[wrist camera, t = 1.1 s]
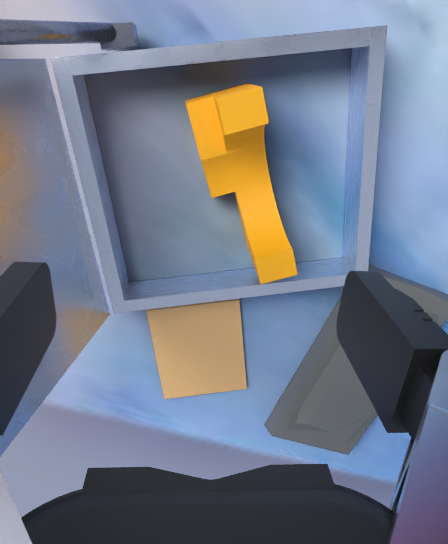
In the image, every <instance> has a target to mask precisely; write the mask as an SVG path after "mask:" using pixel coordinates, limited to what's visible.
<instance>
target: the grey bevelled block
mask: <svg viewBox="0 0 448 544" xmlns="http://www.w3.org/2000/svg"><path fill="white" fill-rule="evenodd" d="M368 271H378V272H380V273H381V274H382V275H383V276H384V278H385V279H386V280H387V281H388V282H389V283H390V284H391V285H392V286H393V288H394V289H398V290H399V291H401V292H403V293H404V294H406V295H408V296H410V297H411V298H413V299H414V300H415V301H416V302H417V303H418V304H419V305H420V306H421V307H422V308H423V309H424V312H426V313H427V314H428V315H429V316H430V317H431V318H432V319H433V322H436V323H437V324H438V325H439V326H440V327H441V326H442V325H443V324H444V322H445V321H446V319H447V318H448V295H447V294H445V293H443V292H441V291H438V290H435V289H432V288H429V287H426V286H424V285H421V284H418V283H416V282H413V281H410V280H408V279H405V278H402V277H400V276H397V275H394V274H392V273H389V272H386V271H384V270H381V269H378V268H376V267H373V266H370V265H369V266H368ZM341 298H342V296H341V297H340V299H339V301H338V302H337V304H336V306H335V307H334V309H333V311H332V312H331V314H330V316H329V317H328V319H327V321H326V322H325V324H324V326H323V327H322V329H321V331H320V332H319V334H318V336H317V338H316V339H315V341H314V343H313V344H312V346H311V348H310V349H309V351H308V353H307V354H306V356H305V358H304V359H303V361H302V363H301V364H300V366H299V368H298V369H297V371H296V373H295V374H294V376H293V378H292V379H291V381H290V383H289V384H288V386H287V388H286V389H285V391H284V393H283V394H282V396H281V398H280V399H279V401H278V403H277V404H276V406H275V408H274V409H273V411H272V413H271V414H270V416H269V418H268V419H267V421H266V423H265V424H264V425H265V427H266V428H267V430H268V431H269V432H270V434H271V435H272V436H274V437H278V438H282V439H287V440H291V441H295V442H299V443H303V444H307V445H311V446H315V447H319V448H323V449H327V450H331V451H335V452H339V453H343V454H347V455H349V453H350V452H351V451H352V449H353V448H354V446H355V445H356V444H357V442H358V441H359V440H360V438H361V437H362V435H363V434H364V433H365V431H366V430H367V429H368V427H369V426H370V424H371V423H372V422H373V420H374V419H375V417H376V416H377V415H378V414H377V412H376V410H375V408H374V406H373V405H372V403H371V401H370V399H369V397H368V395H367V393H366V391H365V389H364V388H363V386H362V384H361V382H360V380H359V378H358V376H357V374H356V373H355V371H354V369H353V367H352V365H351V363H350V361H349V359H348V357H347V356H346V354H345V352H344V350H343V348H342V346H341V344H340V342H339V340H338V337H337V330H336V323H337V316H338V312H339V307H340V302H341Z"/></svg>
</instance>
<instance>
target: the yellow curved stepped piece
mask: <svg viewBox="0 0 448 544" xmlns="http://www.w3.org/2000/svg"><path fill="white" fill-rule="evenodd" d="M186 106H187V110H188V114H189V117H190V121H191V125H192V128H193V132H194V136H195V139H196V143H197V147H198V150H199V154H200V158H201V161H202V165H203V169H204V172H205V176H206V179H207V183H208V187H209V190H210V194H211V198H213V197H217V196H221V195H224V194H228V193H232V192H234V193H235V197H236V202H237V206H238V210H239V214H240V218H241V222H242V226H243V230H244V234H245V239H246V243H247V247H248V250H249V253H250V256H251V258H252V261H253V264H254V267H255V270H256V273H257V275H258V278H259V281H260V284H264V283H268V282H272V281H275V280H279V279H283V278H287V277H291V276H295V275H298V274H297V269H296V264H295V258H294V253H293V249H292V247H291V245H290V243H289V241H288V238H287V236H286V233H285V231H284V228H283V225H282V222H281V219H280V216H279V212H278V209H277V205H276V201H275V197H274V193H273V189H272V185H271V180H270V175H269V170H268V164H267V158H266V150H265V139H264V131H265V125H266V124H268V123H269V120H268V115H267V109H266V104H265V99H264V93H263V88H262V87H260V86H256V85H252V84H247V83H246V84H243V85H239V86H235V87H232V88H228V89H225V90H221V91H217V92H214V93H210V94H207V95H203V96H200V97H196V98H192V99H189V100H186Z"/></svg>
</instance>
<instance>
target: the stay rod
mask: <svg viewBox="0 0 448 544" xmlns="http://www.w3.org/2000/svg"><path fill="white" fill-rule="evenodd" d="M111 24H118V23H97V22H66V21H35V20H3V19H0V45H16V44H73V43H109V42H112V41H113V40H114V39H115V38H116V35H117V33H116V29H115V28H114V26H112V25H111Z"/></svg>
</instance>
